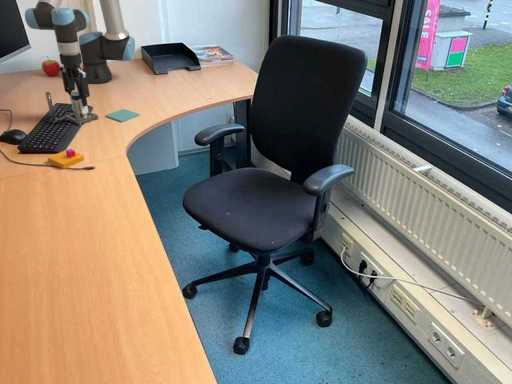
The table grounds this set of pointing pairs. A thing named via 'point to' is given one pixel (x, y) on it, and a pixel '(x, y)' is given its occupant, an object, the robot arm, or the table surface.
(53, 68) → the apple
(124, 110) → the coaster
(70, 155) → the orange flat block
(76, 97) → the beer can
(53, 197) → the table surface
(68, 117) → the square frame with rod
